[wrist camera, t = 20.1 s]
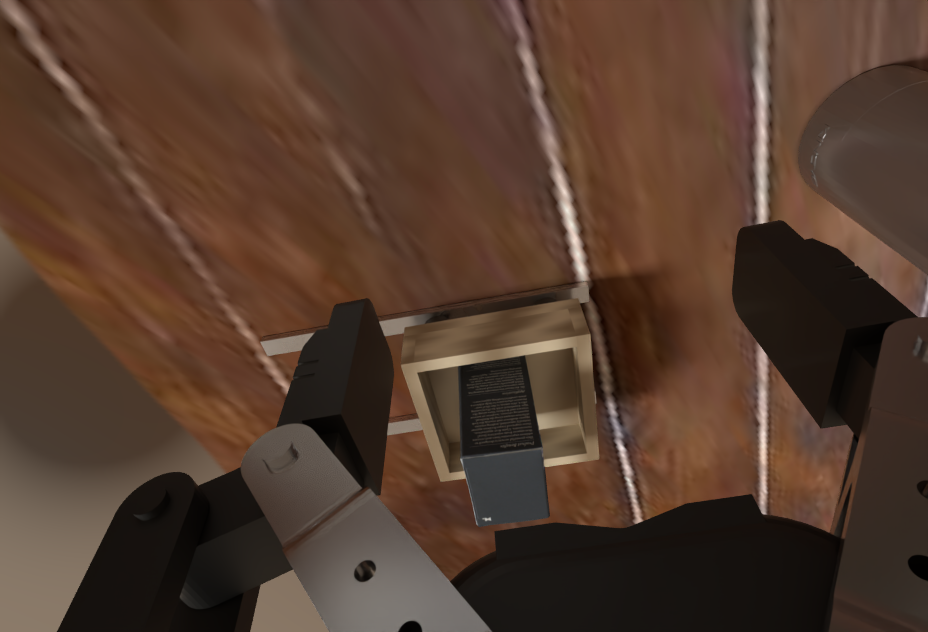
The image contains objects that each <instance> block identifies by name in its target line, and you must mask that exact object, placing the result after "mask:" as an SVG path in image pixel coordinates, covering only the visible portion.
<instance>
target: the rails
mask: <svg viewBox="0 0 928 632" xmlns="http://www.w3.org/2000/svg"><path fill="white" fill-rule="evenodd" d="M542 298H554V299H556V300H557V301H563V300H569V299H575V298H578V299H579V302H580V303H585V302H589V289H588V284H587V281H585V282H579V283H573V284H567V285H562V286H556V287H550V288H544V289H538V290H533V291H527V292H521V293H515V294H509V295H503V296H498V297H492V298H486V299H480V300H474V301H469V302H463V303H457V304H451V305H445V306H439V307H434V308H428V309H422V310H416V311H410V312H404V313H399V314H393V315H387V316H381V317H378V320H379V323H380V325H381V328H382V330H383V333H384V336H389V335H395V334H401V333H404V328H405V327H410V326H416V325H421V324H425V322H426V321H427V320H428V319H430V318H432V317H435V316H444V317H446V318H447V319H448V320H451V319H457V318H463V317H469V316H475V315H481V314H486V313H492V312H498V311H504V310H510V309H516V308H522V307H528V306H534V303H535V302H536V301H537V300H539V299H542ZM326 328H328V326H323V327H317V328H311V329H306V330H300V331H294V332H288V333H282V334H276V335H271V336H265V337H262V339H261V344H262V346H263V348H264V350H265V352H266V354H267V355H268V356H270V355H276V354H282V353H288V352H294V351H300V350H302V348H303V346H304V345H305V344H306V343H307V341H308V340H309V339H310V338H311V337H312V335H313V334H314V333H315V332H316V331H317V330H321V329H326ZM594 392H595V404H596V391H595V388H594ZM418 430H423V428H422V426H421V423H420V420H419V417H418V414H412V415H405V416H399V417H392V418H389V423H388V432H387V435H392V434H398V433H405V432H412V431H418Z"/></svg>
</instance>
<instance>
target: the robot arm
mask: <svg viewBox="0 0 928 632" xmlns="http://www.w3.org/2000/svg"><path fill="white" fill-rule="evenodd" d="M798 162H799V168H800V173H801V175H802V177H803V178H804V180H805V182H806V183H807V184H808V185H809V186H810V187H811V188H812V189H813V190H814V191H815V192H817V193H818V194H819V195H821V196H822V197H823V198H825V199H826V200H827V201H829V202H830V203H832V204H833V205H834V206H836V207H837V208H838V209H840V210H841V211H842V212H843V213H844V214H846V215H847V216H849V217H850V218H851V219H853V220H854V221H855V222H857V223H858V224H859V225H861V226H862V227H863V228H865V229H866V230H867V231H869V232H870V233H872V234H873V235H874V236H876V237H877V238H878V239H880V240H881V241H882V242H884V243H885V244H886V245H888V246H889V247H890V248H892V249H893V250H894V251H896V252H897V253H899V254H900V255H901V256H903V257H904V258H905V259H907V260H908V261H909V262H911V263H912V264H913V265H915V266H916V267H917V268H919V269H920V270H922V271H923V272H924V273H926V274H927V275H928V72H927V71H923V70H920V69H917V68H914V67H910V66H905V65H891V66H885V67H880V68H876V69H873V70H871V71H868V72H865V73H863V74H861V75H859V76H857V77H855V78H854V79H852V80H850V81H848V82H847V83H845V84H844V85H843V86H841V87H840V88H839V89H838V90H836V91H835V92H834V93H833V94H831V95H830V96H829V97H828V99H827V100H826V101H825V102H824V103H823V104H822V105H821V106H820V107H819V108H818V110H817V111H816V113H815V114H814V116H813V117H812V118H811V120H810V121H809V123H808V125H807V128H806V130H805V132H804V134H803V136H802V140H801V144H800V147H799V158H798ZM732 296H733V302H734V306H735V309H736V312H737V314H738V316H739V317H740V319H741V320H742V322H743V323H744V324H745V326H746V327H747V328H748V330H749V331H750V332H751V334H752V335H753V337H754V338H755V339H756V341H757V342H758V343H759V345H760V346H761V347H762V349H763V350H764V352H765V353H766V354H767V356H768V357H769V358H770V360H771V361H772V362H773V364H774V365H775V367H776V368H777V369H778V371H779V372H780V373H781V375H782V376H783V378H784V379H785V380H786V382H787V383H788V384H789V386H790V387H791V388H792V390H793V391H794V393H795V394H796V395H797V397H798V398H799V399H800V401H801V402H802V403H803V405H804V406H805V408H806V409H807V410H808V412H809V413H810V414H811V416H812V417H813V418H814V420H815V421H816V423H817V424H818V425H819V427H820V428H828V427H834V426H841V425H848V426H849V428H850V429H851V430H852V431H853V436H852V440H851V443H850V446H849V451H848V455H847V460H846V464H845V469H844V473H843V477H842V482H841V486H840V491H839V495H838V500H837V504H836V508H835V513H834V517H833V521H832V525H831V529H830V533H829V532H826V531H824V530H822V529H819V528H816V527H814V526H811V525H809V524H806V523H802V522H799V521H795V520H792V519H788V518H783V517H778V516H772V515H764V514H762V513H761V511H760V509H759V507H758V505H757V503H756V502H755V500H754V498H753V496H752V494H749V495H743V496H736V497H729V498H722V499H715V500H708V501H701V502H694V503H687V504H684V505H682V506H679V507H677V508H674V509H672V510H670V511H667V512H665V513H662V514H660V515H657V516H655V517H652V518H650V519H648V520H645V521H643V522H640V523H638V524H635V525H633V526H630V527H627V528H609V527H599V526H588V525H577V524H566V523H549V524H542V525H535V526H528V527H521V528H515V529H508V530H501V531H495V544H496V551H495V552H492V553H490V554H488V555H486V556H484V557H482V558H480V559H479V560H477V561H475V562H473V563H472V564H471V565H469V566H468V567H466V568H465V569H464V570H462V571H461V572H460V573H459V574H458V575H457V576H456V577H454V578H453V579H452V580H451V581H450V582H449V580H448V579H447V578H446V577H445V576H444V575H443V573H442V572H441V571H440V570H439V569H438V568H437V566H436V565H435V564H434V563H433V562H432V561H431V559H430V558H429V557H428V556H427V555H426V553H425V552H424V551H423V550H422V549H421V548H420V546H419V545H418V544H417V543H416V542H415V541H414V539H413V538H412V537H411V536H410V535H409V534H408V532H407V531H406V530H405V529H404V528H403V527H402V525H401V524H400V523H399V522H398V521H397V519H396V518H395V517H394V516H393V515H392V514H391V512H390V511H389V510H388V509H387V508H386V507H385V505H384V504H383V503H382V502H381V501H380V500H379V498H378V497H377V495H380V494H381V485H382V476H383V467H384V458H385V450H386V441H387V432H388V423H389V414H390V405H391V396H392V388H393V379H394V368H393V361H392V356H391V352H390V349H389V346H388V344H387V341H386V338H385V336H384V333H383V330H382V328H381V325H380V323H379V320H378V317H377V315H376V312H375V309H374V307H373V304H372V302H371V301H370V300H369V299H368V298H366V299H361V300H356V301H351V302H345V303H340V304H336V305H335V306H334V308H333V312H332V315H331V319H330V322H329V326H328V328H326V329H321V330H317V331H316V332H315V333H314V334H313V335H312V337H311V338H310V339H309V340H308V341H307V343H306V344H305V345H304V346H303V348H302V351H301V354H300V357H299V360H298V366H297V367H296V370H295V373H294V376H293V379H294V380H292V382H291V385H290V388H289V391H288V394H287V397H286V400H285V403H284V406H283V409H282V412H281V415H280V418H279V421H278V424H277V427H276V428H275V429H273V430H271V431H269V432H267V433H265V434H264V435H263V436H261V437H260V438H259V439H258V440H256V441H255V442H254V443H253V444H252V445H251V447H250V448H249V449H248V451H247V452H246V454H245V456H244V457H243V460H242V463H241V467H240V468H238V469H236V470H234V471H232V472H229V473H227V474H225V475H222V476H220V477H218V478H215V479H213V480H211V481H209V482H206V483H204V484H201V485H199V486H198V485H197V484H196V483H195V482H194V480H193V479H192V478H191V477H190V476H189V475H187V474H185V473H182V472H171V473H166V474H162V475H160V476H157V477H155V478H153V479H151V480H149V481H147V482H146V483H144V484H143V485H141V486H140V487H138V488H137V489H136V490H134V491H133V492H132V493H131V494H130V495H129V496H128V497H127V498H126V499H125V500H124V501H123V503H122V504H121V505H120V507H119V508H118V510H117V512H116V513H115V515H114V517H113V520H112V522H111V524H110V526H109V528H108V530H107V532H106V534H105V536H104V538H103V540H102V542H101V544H100V546H99V548H98V550H97V552H96V554H95V556H94V558H93V560H92V562H91V564H90V566H89V568H88V570H87V572H86V574H85V576H84V578H83V580H82V582H81V584H80V586H79V588H78V590H77V592H76V594H75V597H74V598H73V600H72V602H71V605H70V607H69V609H68V611H67V613H66V615H65V617H64V619H63V621H62V623H61V625H60V627H59V629H58V631H57V632H250V630H251V625H252V621H253V616H254V612H255V607H256V603H257V598H258V594H259V589H260V585H261V584H263V583H265V582H267V581H269V580H271V579H274V578H276V577H278V576H280V575H282V574H284V573H286V572H288V571H290V570H294V572H295V573H296V575H297V577H298V579H299V580H300V582H301V584H302V585H303V587H304V589H305V590H306V592H307V594H308V596H309V597H310V599H311V601H312V603H313V604H314V606H315V608H316V610H317V611H318V613H319V615H320V616H321V618H322V620H323V621H324V623H325V625H326V627H327V629H328V630H329V632H928V317H917V316H916V315H915V314H914V313H913V312H911V311H910V310H909V309H908V308H907V307H906V306H904V305H903V304H902V303H901V302H900V301H898V300H897V299H896V298H895V297H894V296H893V295H891V294H890V293H889V292H888V291H887V290H885V289H884V288H883V287H882V286H881V285H880V284H878V283H877V282H876V281H875V280H874V279H873V278H870V279H869V277H868V274H867V273H865V272H864V271H863V270H862V269H861V268H860V267H858V266H855V265H854V262H852V261H851V260H850V259H849V258H848V257H847V256H845V255H844V254H843V253H842V252H841V251H840V250H838V249H837V248H834V247H832V246H830V245H827V244H825V243H822V242H820V241H817V240H815V239H813V238H811V239H806V240H804V239H803V238H802V237H801V236H800V235H799V234H798V233H796V232H795V231H794V230H793V229H792V228H791V227H790V226H789V225H788V224H787V223H785V222H784V221H782V220H778V221H773V222H768V223H763V224H757V225H752V226H747V227H743V228H741V229H740V230H739V233H738V236H737V243H736V254H735V264H734V275H733V285H732Z"/></svg>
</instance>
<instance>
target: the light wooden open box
mask: <svg viewBox="0 0 928 632" xmlns="http://www.w3.org/2000/svg"><path fill="white" fill-rule="evenodd" d="M523 355H525V357H526V362H527V368H528V373H529V378H530V383H531V389H532V394H533V399H534V405H535V410H536V416H537V421H538V426H539V431H540V435H541V441H542V446H543V456H544V466H545V467H548V466H555V465H562V464H570V463H577V462H584V461H591V460H598V459H599V449H598V434H597V420H596V406H595V392H594V378H593V364H592V350H591V336H590V331H589V328H588V326H587V323H586V320H585V317H584V314H583V311H582V308H581V305H580V302H579V299H578V298H575V299H569V300H563V301H557V300H556V299H554V298H542V299H539V300H537V301H536V302H535V303H534V306H528V307H522V308H516V309H510V310H504V311H498V312H492V313H486V314H481V315H475V316H469V317H463V318H457V319H451V320H448V319H447V318H446V317H444V316H435V317H432V318H430V319H428V320H427V321H426V322H425V324H421V325H416V326H410V327H405V328H404V338H403V347H402V357H401V367H402V370H403V373H404V376H405V379H406V382H407V385H408V388H409V391H410V394H411V396H412V399H413V402H414V405H415V408H416V411H417V414H418V417H419V420H420V423H421V426H422V428H423V431H424V434H425V437H426V440H427V443H428V446H429V449H430V452H431V455H432V458H433V460H434V463H435V466H436V469H437V472H438V475H439V478H440V481H441V482H443V481H450V480H457V479H464V478H466V476H465V472H464V469H463V466H462V463H461V461H460V416H459V384H458V383H459V381H458V366H461V365H468V364H474V363H480V362H486V361H492V360H499V359H505V358H511V357H517V356H523Z"/></svg>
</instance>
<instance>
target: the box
mask: <svg viewBox="0 0 928 632" xmlns="http://www.w3.org/2000/svg"><path fill="white" fill-rule="evenodd" d="M458 381H459V383H458V384H459V416H460V461H461V463H462V466H463V469H464V472H465V476H466V480H467V484H468V488H469V492H470V496H471V501H472V504H473V509H474V514H475V519H476V524H477V525H478V526H479V527H481V526H487V525H494V524H504V523H514V522H522V521H530V520H537V519H543V518H548V517H549V516H550V513H549V504H548V495H547V485H546V474H545V466H544V456H543V446H542V441H541V435H540V431H539V426H538V421H537V416H536V410H535V405H534V399H533V394H532V389H531V383H530V378H529V373H528V368H527V362H526V357H525V355H523V356H517V357H511V358H505V359H499V360H492V361H486V362H480V363H474V364H468V365H461V366H458Z"/></svg>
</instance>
